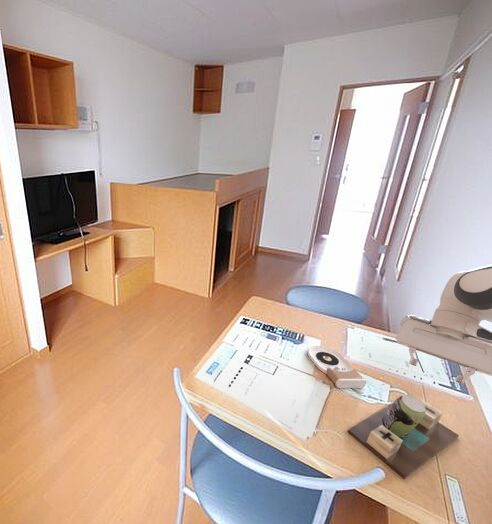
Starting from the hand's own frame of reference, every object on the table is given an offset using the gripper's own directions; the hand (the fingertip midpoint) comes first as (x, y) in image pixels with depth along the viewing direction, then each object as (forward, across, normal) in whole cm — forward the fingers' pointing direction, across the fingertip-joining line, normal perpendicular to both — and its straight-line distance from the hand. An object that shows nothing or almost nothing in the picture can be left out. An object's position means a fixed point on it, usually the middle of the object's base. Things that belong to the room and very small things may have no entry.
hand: (435, 373), depth 82 cm
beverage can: (+19, -3, +3) cm, 19 cm away
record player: (+9, -25, +16) cm, 30 cm away
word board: (+19, -2, +5) cm, 19 cm away
